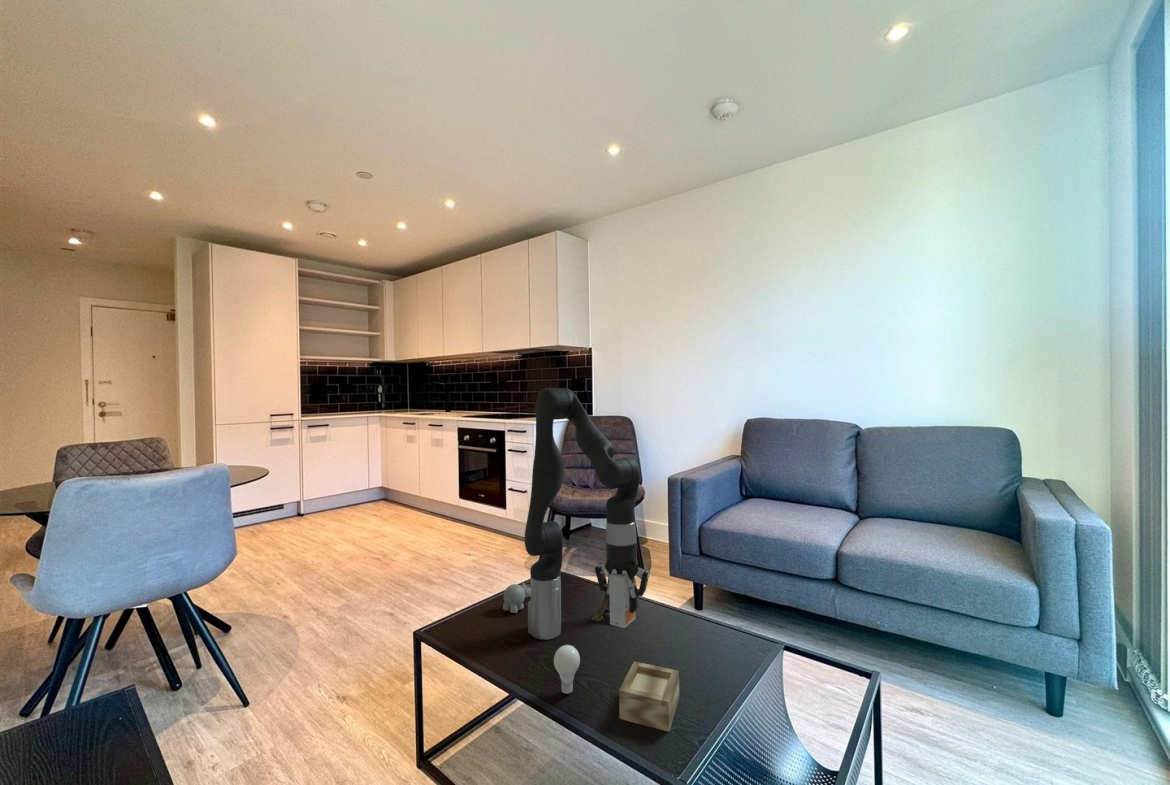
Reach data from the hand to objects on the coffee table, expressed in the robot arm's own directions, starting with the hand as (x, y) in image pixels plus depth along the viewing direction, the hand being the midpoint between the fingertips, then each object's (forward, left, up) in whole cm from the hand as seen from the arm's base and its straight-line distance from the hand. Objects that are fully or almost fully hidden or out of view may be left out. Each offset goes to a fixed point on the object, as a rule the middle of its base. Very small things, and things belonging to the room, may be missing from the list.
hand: (623, 609), depth 110 cm
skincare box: (0, 0, -3) cm, 3 cm away
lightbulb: (-12, -6, -19) cm, 24 cm away
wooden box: (+8, -4, -19) cm, 21 cm away
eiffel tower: (-14, +35, -19) cm, 42 cm away
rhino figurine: (-47, +29, -19) cm, 58 cm away
